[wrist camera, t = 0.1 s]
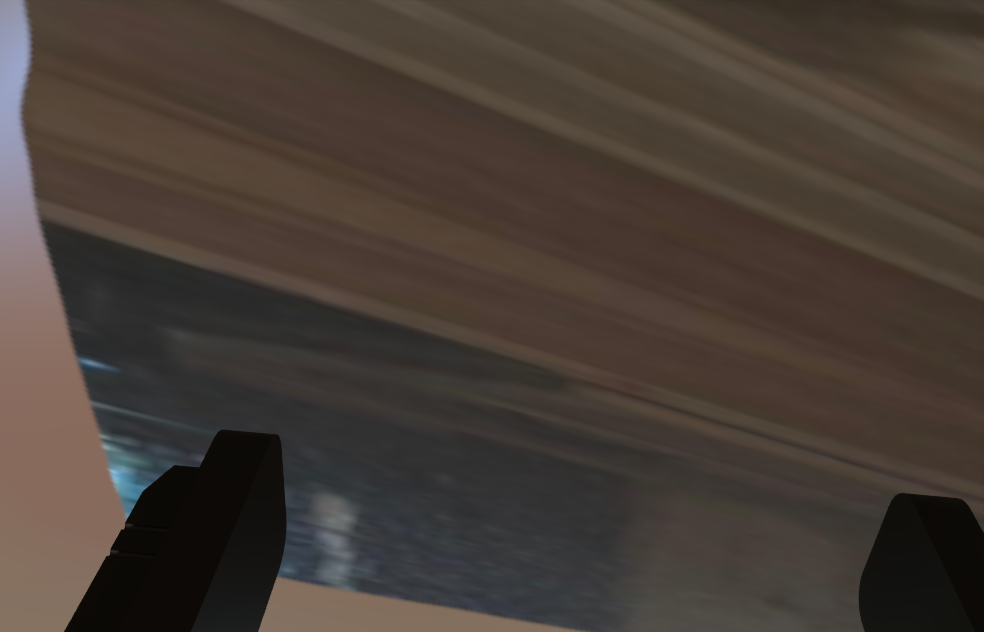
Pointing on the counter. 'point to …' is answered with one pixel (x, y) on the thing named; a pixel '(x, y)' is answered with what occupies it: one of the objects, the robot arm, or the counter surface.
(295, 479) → the counter surface
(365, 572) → the counter surface
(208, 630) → the robot arm
